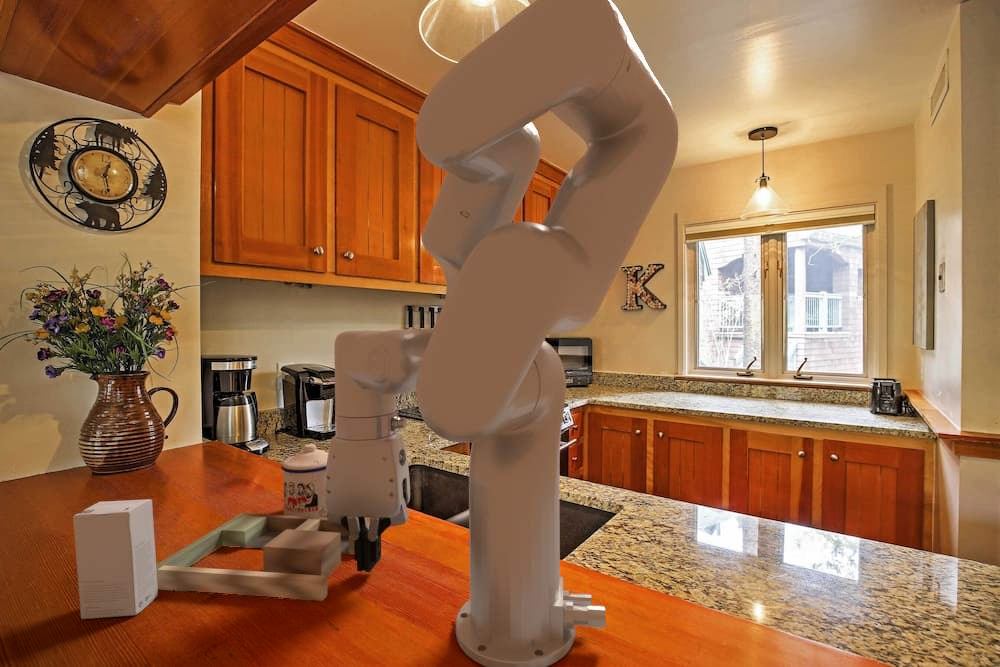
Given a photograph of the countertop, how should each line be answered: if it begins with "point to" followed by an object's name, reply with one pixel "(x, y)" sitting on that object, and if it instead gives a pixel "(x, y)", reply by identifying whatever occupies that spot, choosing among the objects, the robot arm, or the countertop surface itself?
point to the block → (303, 552)
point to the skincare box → (115, 558)
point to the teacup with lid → (305, 483)
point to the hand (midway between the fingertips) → (368, 565)
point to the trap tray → (256, 535)
